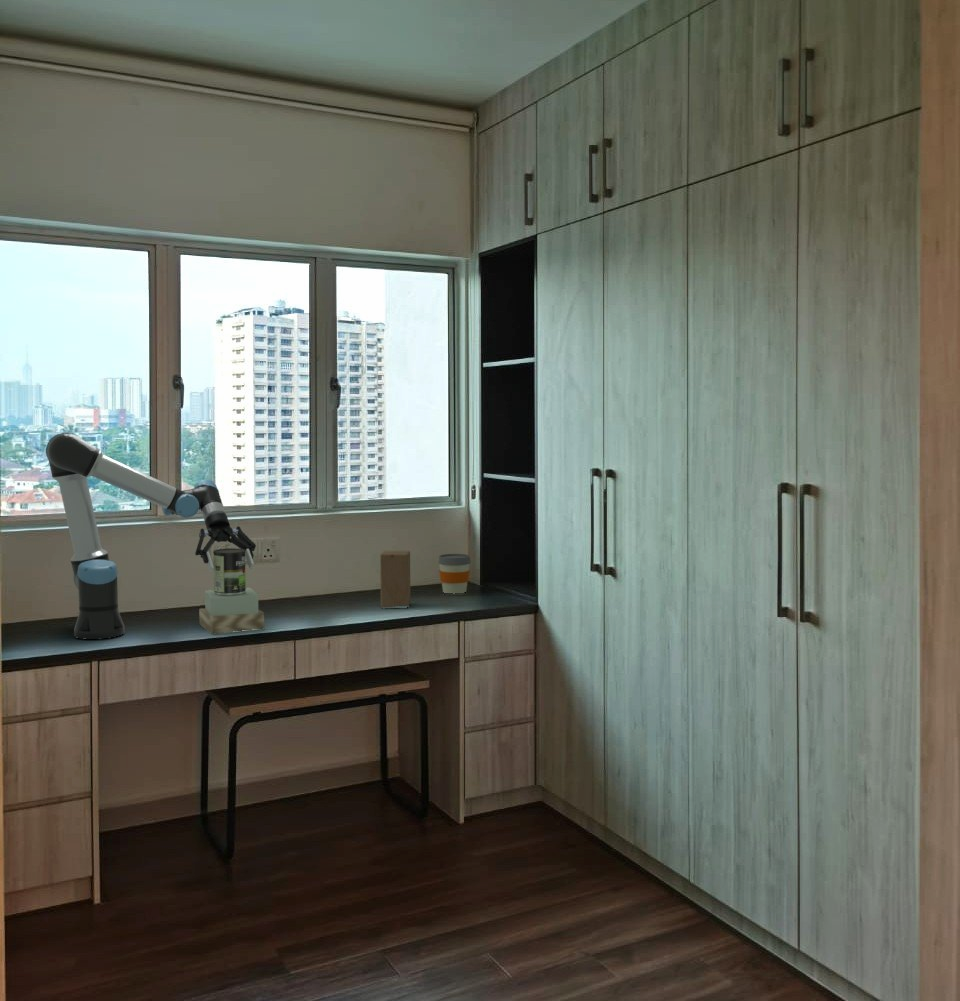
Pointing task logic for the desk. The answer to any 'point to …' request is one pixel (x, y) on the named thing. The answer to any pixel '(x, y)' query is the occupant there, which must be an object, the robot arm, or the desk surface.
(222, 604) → the sage top slab
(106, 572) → the robot arm
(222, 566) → the coffee can
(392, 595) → the wooden block
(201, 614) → the birch base slab
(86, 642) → the desk surface
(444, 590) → the reusable coffee cup
